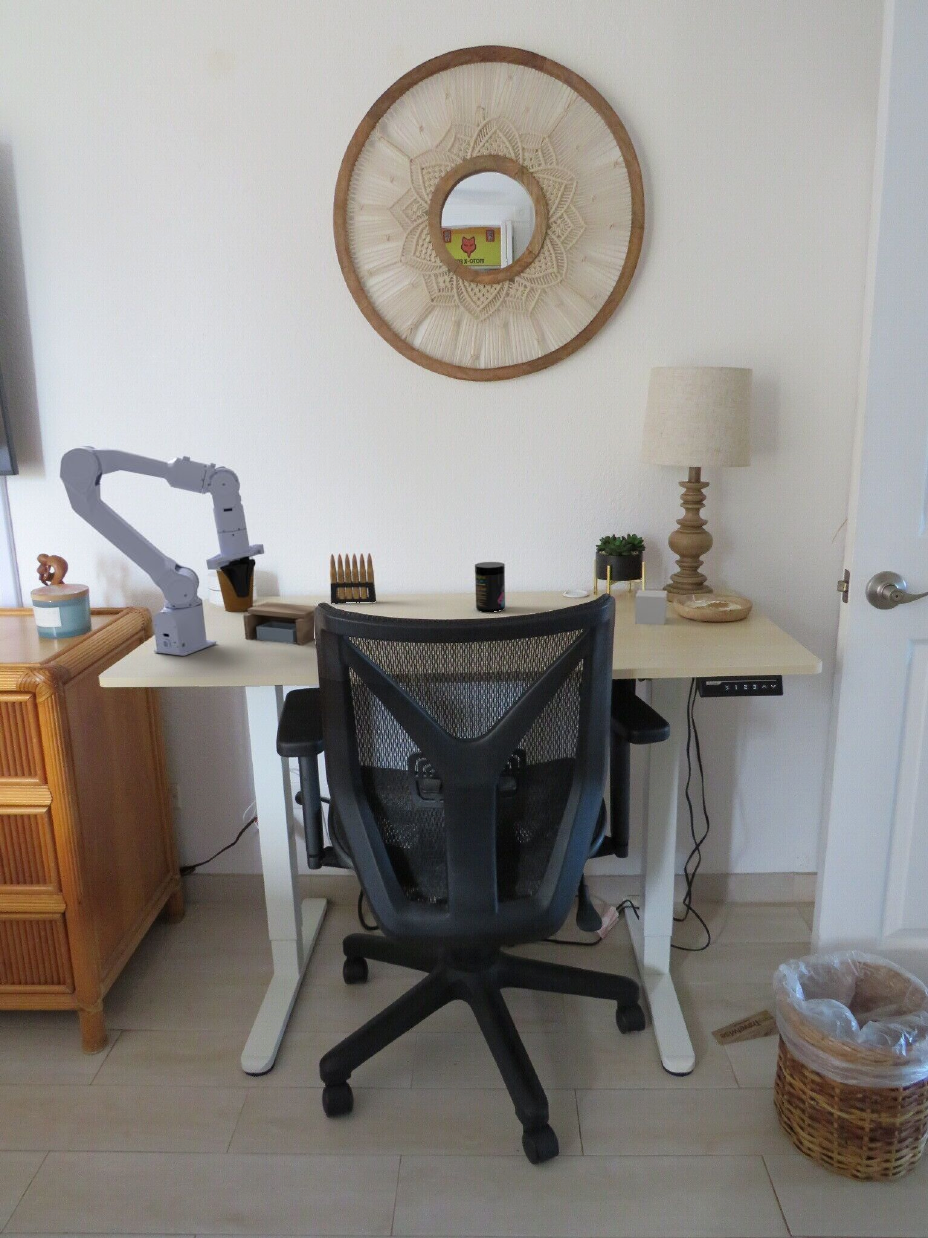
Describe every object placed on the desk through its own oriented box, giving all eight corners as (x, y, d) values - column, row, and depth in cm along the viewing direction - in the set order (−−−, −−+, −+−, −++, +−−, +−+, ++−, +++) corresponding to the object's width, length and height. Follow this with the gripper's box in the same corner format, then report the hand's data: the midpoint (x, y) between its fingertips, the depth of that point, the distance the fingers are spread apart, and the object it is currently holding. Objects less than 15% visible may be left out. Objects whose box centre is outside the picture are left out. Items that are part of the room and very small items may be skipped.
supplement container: (497, 614, 190) (496, 568, 188) (470, 611, 194) (469, 566, 191) (510, 607, 196) (509, 562, 194) (484, 605, 199) (483, 561, 197)
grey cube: (664, 625, 178) (665, 597, 176) (634, 624, 180) (635, 596, 178) (666, 618, 183) (667, 590, 182) (637, 616, 185) (638, 589, 184)
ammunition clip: (330, 604, 205) (327, 554, 202) (332, 602, 207) (328, 553, 204) (375, 603, 205) (372, 553, 202) (376, 601, 206) (373, 552, 203)
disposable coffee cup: (265, 604, 207) (260, 554, 204) (251, 613, 198) (246, 562, 195) (226, 604, 208) (222, 555, 205) (211, 613, 199) (206, 562, 196)
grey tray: (293, 645, 173) (292, 630, 172) (257, 641, 176) (256, 626, 176) (308, 638, 177) (307, 624, 176) (272, 634, 181) (271, 621, 180)
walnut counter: (301, 645, 171) (299, 616, 169) (245, 638, 177) (242, 610, 175) (324, 635, 178) (322, 606, 176) (269, 629, 184) (267, 601, 182)
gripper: (221, 536, 161) (234, 606, 164) (271, 522, 173) (281, 588, 177) (193, 537, 164) (206, 605, 168) (244, 523, 176) (255, 587, 180)
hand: (243, 596), depth 172 cm, fingers closed
